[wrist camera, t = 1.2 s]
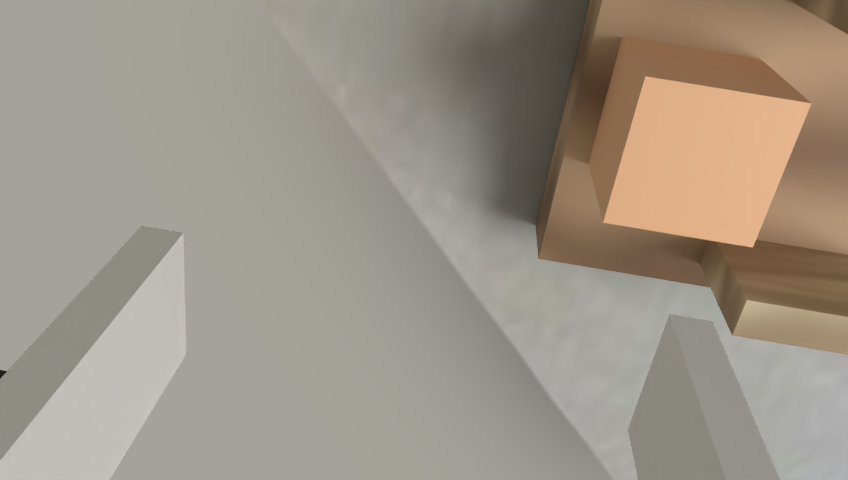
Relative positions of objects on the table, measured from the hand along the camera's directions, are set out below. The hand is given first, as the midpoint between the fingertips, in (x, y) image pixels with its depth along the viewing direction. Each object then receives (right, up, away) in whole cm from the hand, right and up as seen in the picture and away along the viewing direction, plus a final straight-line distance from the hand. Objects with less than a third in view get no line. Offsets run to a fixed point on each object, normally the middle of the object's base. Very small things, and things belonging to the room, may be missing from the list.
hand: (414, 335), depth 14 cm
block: (+9, +6, +14) cm, 18 cm away
